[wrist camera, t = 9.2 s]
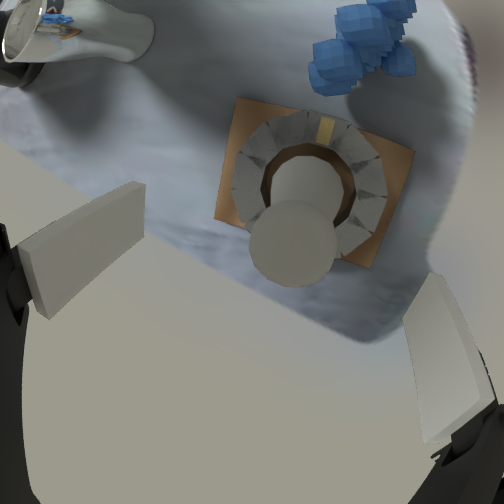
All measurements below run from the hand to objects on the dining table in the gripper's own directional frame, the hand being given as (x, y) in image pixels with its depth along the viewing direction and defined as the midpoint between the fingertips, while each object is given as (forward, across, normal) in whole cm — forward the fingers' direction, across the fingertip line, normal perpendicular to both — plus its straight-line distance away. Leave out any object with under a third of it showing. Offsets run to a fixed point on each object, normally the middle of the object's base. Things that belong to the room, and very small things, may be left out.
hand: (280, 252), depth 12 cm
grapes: (+16, +2, +12) cm, 20 cm away
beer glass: (+16, -21, +12) cm, 29 cm away
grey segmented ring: (+14, +1, 0) cm, 14 cm away
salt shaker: (+14, 0, 0) cm, 14 cm away
